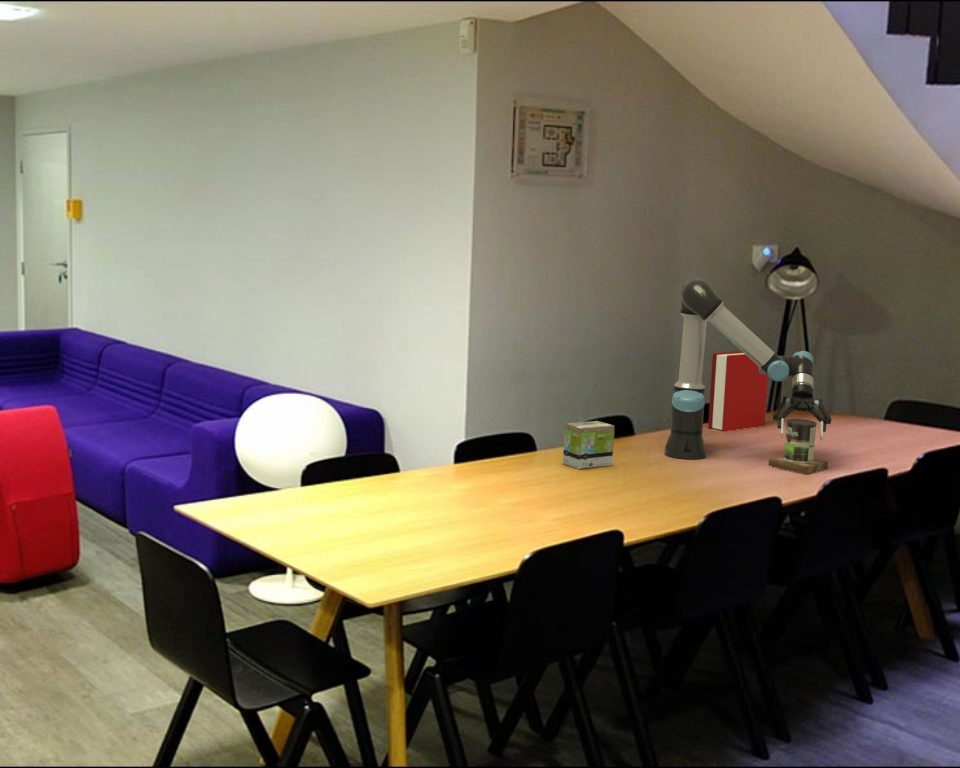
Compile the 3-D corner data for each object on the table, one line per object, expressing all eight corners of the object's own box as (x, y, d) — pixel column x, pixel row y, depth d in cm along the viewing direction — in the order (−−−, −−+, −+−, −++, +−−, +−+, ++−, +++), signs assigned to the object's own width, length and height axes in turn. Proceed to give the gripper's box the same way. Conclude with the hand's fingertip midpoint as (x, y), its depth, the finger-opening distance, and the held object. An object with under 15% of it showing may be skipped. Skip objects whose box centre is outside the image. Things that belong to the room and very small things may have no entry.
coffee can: (795, 464, 381) (798, 425, 379) (777, 457, 390) (780, 419, 388) (819, 462, 385) (822, 423, 382) (801, 456, 394) (804, 418, 392)
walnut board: (805, 474, 377) (806, 467, 377) (768, 466, 388) (768, 459, 388) (827, 468, 388) (828, 461, 387) (790, 461, 398) (791, 453, 398)
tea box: (579, 470, 374) (581, 428, 372) (562, 464, 383) (563, 423, 380) (613, 465, 383) (615, 424, 380) (595, 459, 391) (597, 419, 389)
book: (722, 431, 450) (727, 355, 445) (707, 428, 456) (712, 353, 451) (766, 426, 465) (772, 352, 460) (752, 422, 472) (757, 350, 467)
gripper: (836, 397, 398) (836, 445, 386) (766, 392, 403) (764, 439, 391) (839, 385, 392) (839, 433, 380) (768, 380, 397) (766, 428, 385)
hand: (801, 437), depth 386 cm, fingers open, 13 cm apart
